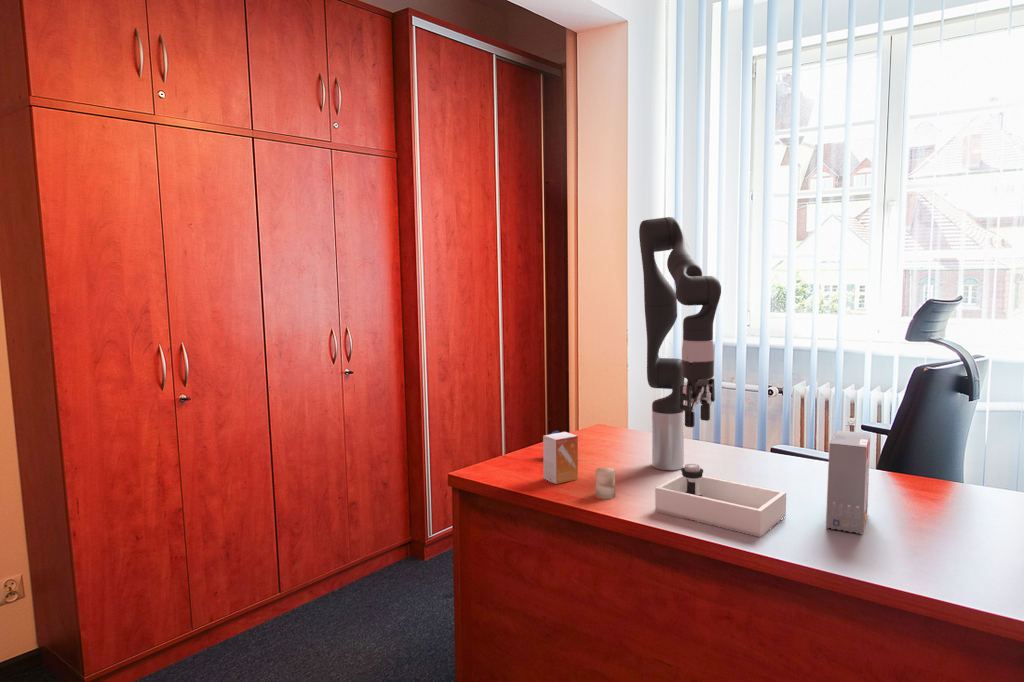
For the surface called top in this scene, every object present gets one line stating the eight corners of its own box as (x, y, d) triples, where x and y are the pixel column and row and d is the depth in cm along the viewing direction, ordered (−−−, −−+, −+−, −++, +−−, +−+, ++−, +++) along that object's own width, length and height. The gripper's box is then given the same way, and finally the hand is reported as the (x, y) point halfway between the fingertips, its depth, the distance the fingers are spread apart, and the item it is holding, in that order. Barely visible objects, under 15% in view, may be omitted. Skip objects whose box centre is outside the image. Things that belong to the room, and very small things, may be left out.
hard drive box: (863, 535, 143) (866, 447, 141) (825, 529, 147) (827, 443, 145) (868, 513, 156) (870, 432, 154) (833, 508, 160) (835, 428, 158)
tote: (685, 494, 172) (685, 472, 172) (785, 516, 155) (786, 492, 154) (655, 511, 160) (655, 487, 160) (760, 537, 143) (760, 511, 142)
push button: (712, 506, 161) (712, 466, 160) (700, 511, 157) (700, 471, 156) (688, 499, 166) (688, 461, 165) (676, 505, 162) (676, 466, 161)
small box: (556, 484, 182) (555, 439, 181) (543, 479, 188) (542, 435, 187) (578, 479, 187) (578, 435, 186) (565, 474, 192) (564, 431, 191)
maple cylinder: (602, 491, 176) (602, 466, 175) (618, 495, 173) (618, 469, 172) (592, 496, 172) (592, 470, 172) (608, 500, 169) (608, 474, 168)
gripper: (696, 354, 166) (696, 416, 167) (669, 360, 155) (669, 427, 157) (724, 356, 161) (724, 420, 162) (699, 362, 150) (698, 431, 152)
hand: (697, 423), depth 159 cm, fingers open, 8 cm apart
